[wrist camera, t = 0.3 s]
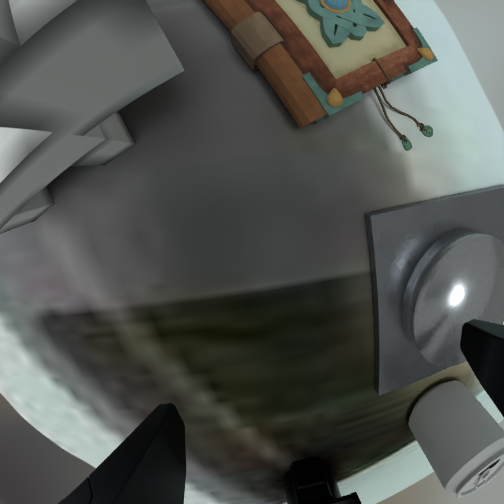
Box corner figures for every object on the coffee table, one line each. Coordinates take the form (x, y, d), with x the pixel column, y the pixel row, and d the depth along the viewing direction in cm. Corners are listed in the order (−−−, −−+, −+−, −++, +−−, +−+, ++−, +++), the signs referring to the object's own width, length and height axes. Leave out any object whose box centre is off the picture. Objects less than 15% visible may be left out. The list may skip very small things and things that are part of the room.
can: (469, 368, 25) (531, 435, 14) (449, 416, 27) (496, 482, 16) (414, 385, 25) (473, 471, 14) (398, 434, 27) (439, 513, 16)
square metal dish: (493, 336, 25) (512, 352, 21) (374, 388, 25) (389, 413, 21) (503, 184, 20) (530, 189, 17) (364, 213, 20) (387, 223, 17)
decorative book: (331, 198, 20) (359, 209, 15) (189, -2, 16) (178, -39, 11) (458, 116, 19) (500, 112, 14) (336, -56, 14) (354, -89, 10)
